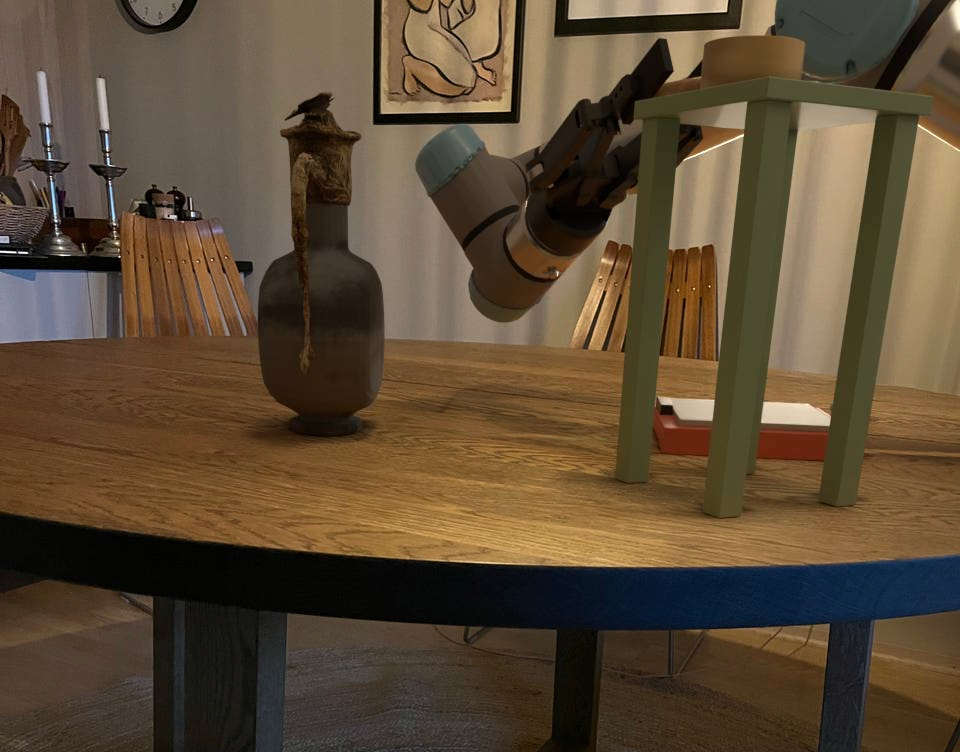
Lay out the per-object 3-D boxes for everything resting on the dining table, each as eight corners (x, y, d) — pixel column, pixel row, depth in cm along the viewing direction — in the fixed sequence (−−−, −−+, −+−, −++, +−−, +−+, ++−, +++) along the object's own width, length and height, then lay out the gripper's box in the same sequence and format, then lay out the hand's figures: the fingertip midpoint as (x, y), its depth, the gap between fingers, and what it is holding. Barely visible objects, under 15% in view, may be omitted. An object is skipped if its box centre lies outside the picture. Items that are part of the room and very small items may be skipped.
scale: (815, 430, 112) (820, 398, 111) (857, 462, 96) (863, 425, 94) (649, 422, 114) (652, 391, 112) (662, 453, 97) (665, 416, 96)
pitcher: (390, 419, 111) (389, 106, 100) (364, 452, 93) (360, 76, 82) (289, 415, 111) (278, 103, 100) (244, 448, 93) (224, 73, 82)
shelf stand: (865, 506, 79) (934, 95, 69) (717, 520, 73) (768, 75, 63) (741, 467, 92) (783, 116, 81) (606, 477, 86) (634, 101, 76)
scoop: (819, 100, 73) (827, 41, 72) (743, 91, 70) (750, 29, 69) (646, 124, 90) (650, 77, 88) (578, 118, 87) (581, 68, 85)
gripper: (641, 259, 104) (794, 111, 83) (484, 255, 97) (606, 92, 76) (626, 190, 105) (773, 26, 84) (469, 181, 98) (586, -1, 77)
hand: (694, 58), depth 80 cm, fingers open, 4 cm apart
